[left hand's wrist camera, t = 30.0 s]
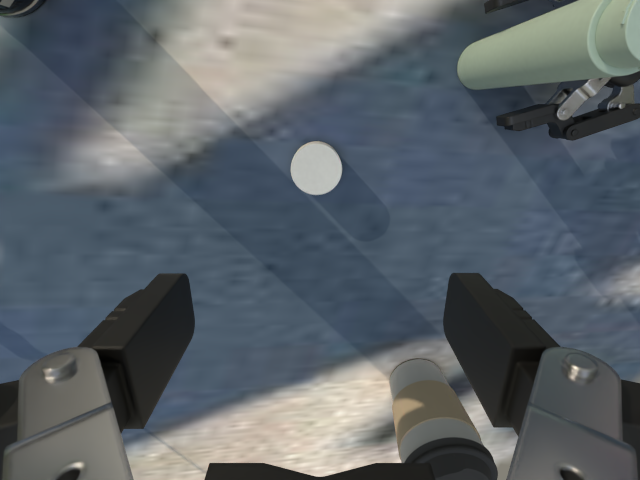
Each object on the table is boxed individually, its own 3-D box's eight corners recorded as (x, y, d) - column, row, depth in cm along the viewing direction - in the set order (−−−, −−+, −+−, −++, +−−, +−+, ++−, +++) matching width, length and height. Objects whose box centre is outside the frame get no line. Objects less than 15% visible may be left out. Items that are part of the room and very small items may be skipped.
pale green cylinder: (506, 42, 33) (738, -36, 15) (496, 91, 35) (694, 76, 16) (461, 39, 33) (639, -44, 15) (453, 88, 35) (604, 69, 16)
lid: (318, 199, 39) (318, 205, 37) (282, 168, 38) (280, 172, 36) (350, 164, 37) (352, 167, 35) (314, 130, 36) (313, 132, 34)
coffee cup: (458, 394, 48) (516, 515, 34) (394, 415, 49) (423, 539, 35) (439, 342, 45) (494, 450, 31) (371, 365, 46) (394, 478, 32)
